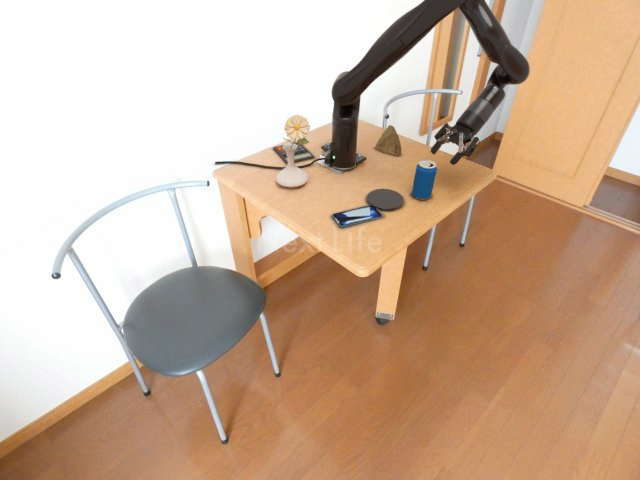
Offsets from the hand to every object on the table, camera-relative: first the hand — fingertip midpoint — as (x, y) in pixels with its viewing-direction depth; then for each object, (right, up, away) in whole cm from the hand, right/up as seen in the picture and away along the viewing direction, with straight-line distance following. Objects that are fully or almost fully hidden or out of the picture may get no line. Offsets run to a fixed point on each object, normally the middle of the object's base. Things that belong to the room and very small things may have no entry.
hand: (441, 158), depth 120 cm
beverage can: (-5, -12, +6) cm, 14 cm away
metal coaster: (-18, -14, +3) cm, 23 cm away
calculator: (-50, +8, +30) cm, 59 cm away
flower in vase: (-49, -6, +12) cm, 51 cm away
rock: (-12, +9, +31) cm, 34 cm away
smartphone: (-28, -20, -3) cm, 34 cm away
